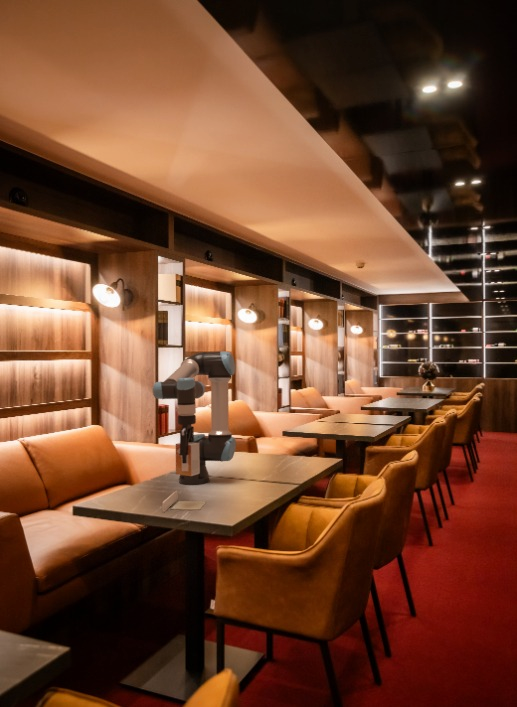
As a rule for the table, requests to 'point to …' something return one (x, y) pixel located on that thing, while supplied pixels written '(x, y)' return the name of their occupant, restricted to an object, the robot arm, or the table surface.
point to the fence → (170, 501)
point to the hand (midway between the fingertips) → (187, 468)
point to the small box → (192, 460)
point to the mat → (188, 505)
